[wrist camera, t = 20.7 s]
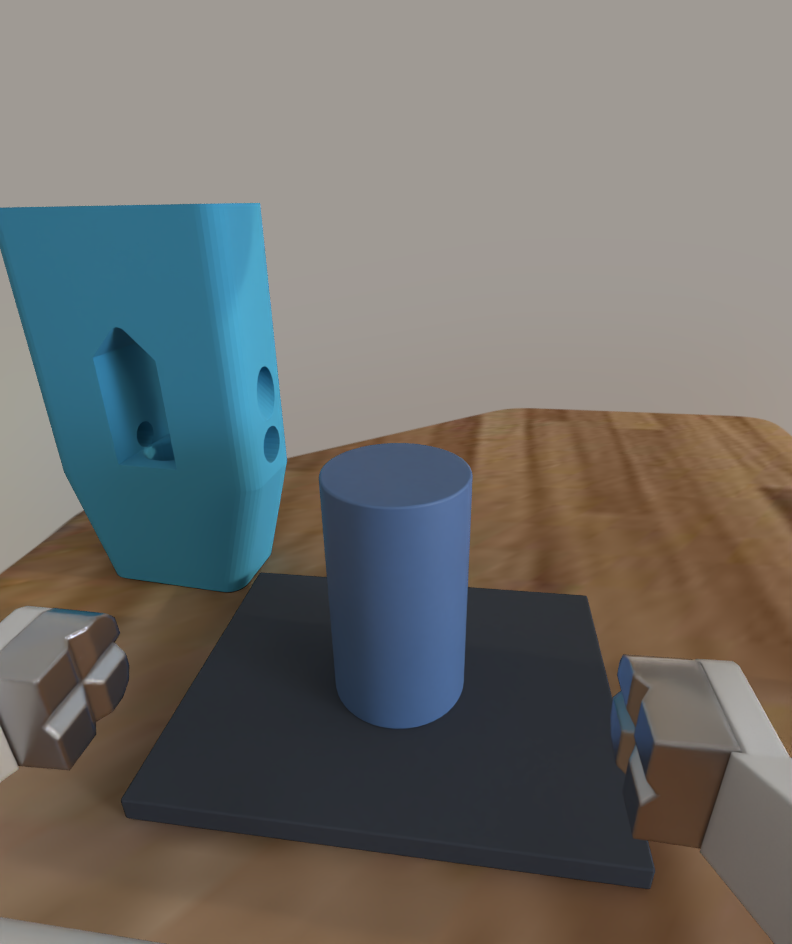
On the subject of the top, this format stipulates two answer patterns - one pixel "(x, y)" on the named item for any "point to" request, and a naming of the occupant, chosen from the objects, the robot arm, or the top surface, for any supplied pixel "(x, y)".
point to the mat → (404, 744)
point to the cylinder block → (397, 579)
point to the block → (158, 379)
